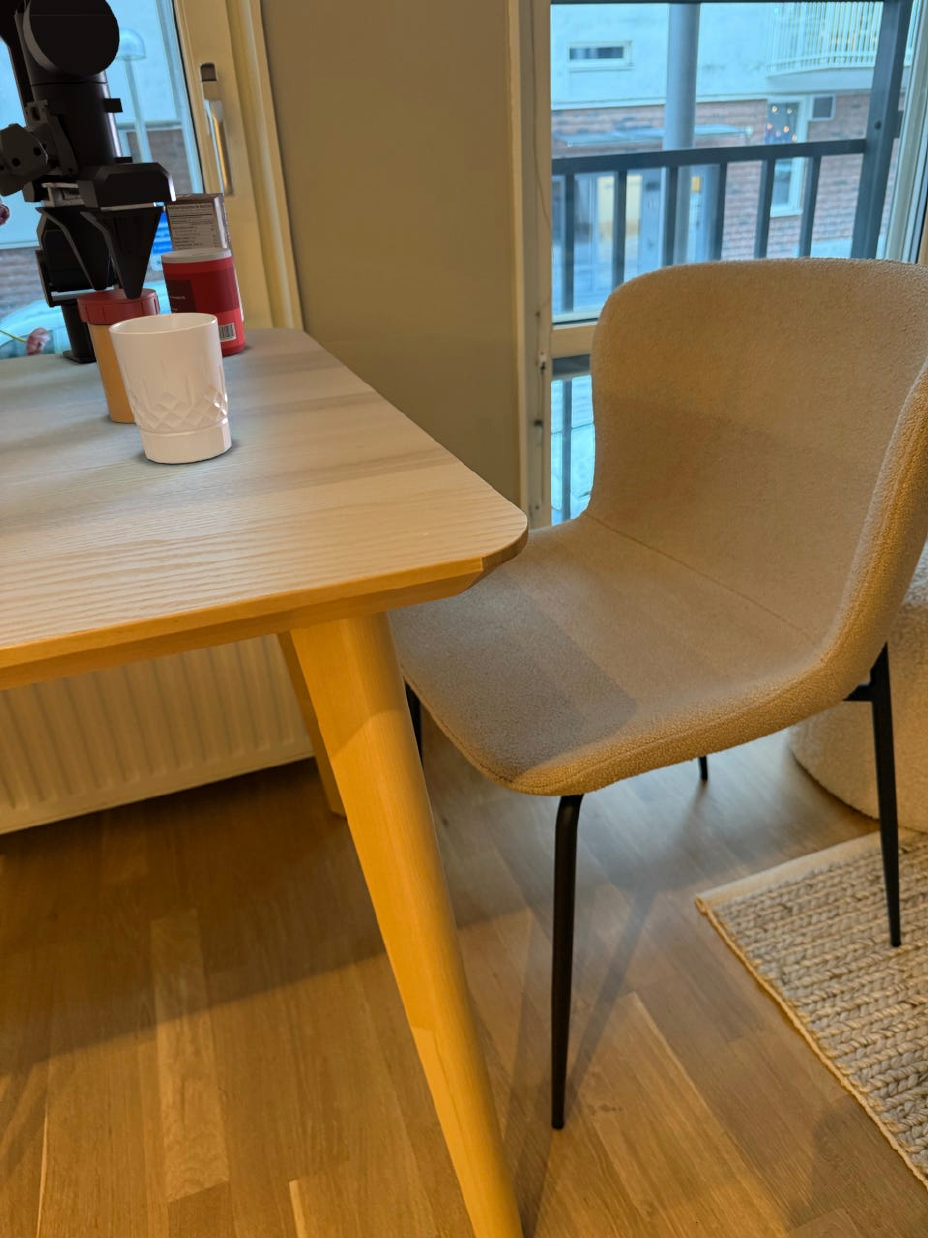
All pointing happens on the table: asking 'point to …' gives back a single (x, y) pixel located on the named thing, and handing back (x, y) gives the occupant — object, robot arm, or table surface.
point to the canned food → (206, 290)
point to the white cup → (175, 384)
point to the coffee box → (199, 224)
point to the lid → (117, 306)
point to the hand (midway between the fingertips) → (116, 294)
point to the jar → (110, 373)
